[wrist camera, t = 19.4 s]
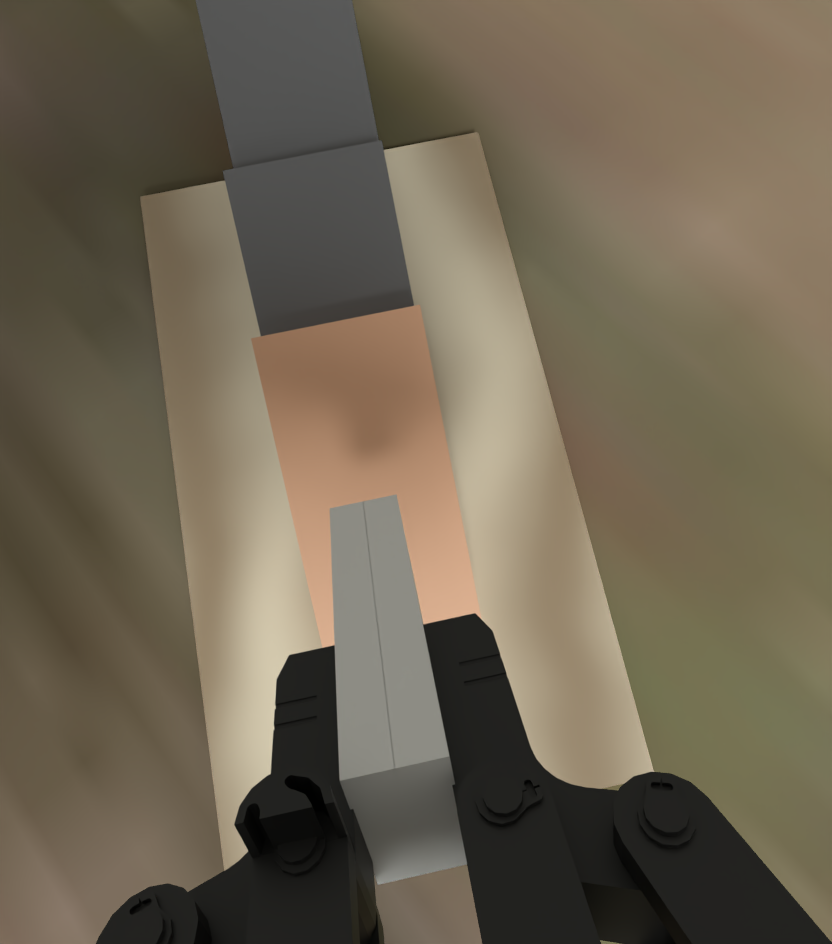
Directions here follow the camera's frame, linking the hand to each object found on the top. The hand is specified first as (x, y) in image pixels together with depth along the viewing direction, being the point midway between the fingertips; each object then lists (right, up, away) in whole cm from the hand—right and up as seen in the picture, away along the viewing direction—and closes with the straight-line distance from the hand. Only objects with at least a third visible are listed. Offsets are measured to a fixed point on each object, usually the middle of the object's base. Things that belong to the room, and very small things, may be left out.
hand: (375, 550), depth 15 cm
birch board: (-1, +2, +9) cm, 10 cm away
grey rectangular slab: (-2, +8, +9) cm, 12 cm away
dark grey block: (-1, +2, +8) cm, 8 cm away
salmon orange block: (+1, -3, +6) cm, 7 cm away
